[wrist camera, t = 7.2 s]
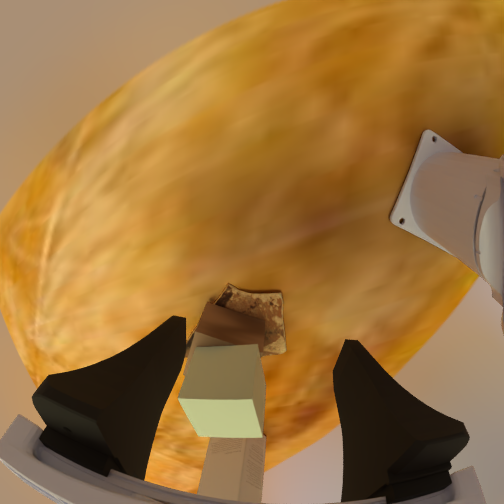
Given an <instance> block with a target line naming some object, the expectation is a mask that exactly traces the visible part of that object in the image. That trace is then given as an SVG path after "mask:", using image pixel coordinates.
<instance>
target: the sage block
mask: <svg viewBox="0 0 504 504" xmlns="http://www.w3.org/2000/svg"><path fill="white" fill-rule="evenodd" d="M265 395H266V383H265V378H264V373H263V368H262V363H261V358H260V353H259V348H258V344H251V345H234V346H212V347H196V348H195V351H194V354H193V357H192V359H191V362H190V365H189V368H188V370H187V373H186V376H185V379H184V382H183V384H182V387H181V390H180V393H179V396H178V400H179V402H180V404H181V406H182V408H183V409H184V411H185V413H186V415H187V417H188V419H189V420H190V422H191V424H192V426H193V427H194V429H195V431H196V433H197V434H198V436H202V437H222V438H263V427H264V411H265Z"/></svg>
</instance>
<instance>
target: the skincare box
mask: <svg viewBox="0 0 504 504" xmlns="http://www.w3.org/2000/svg"><path fill="white" fill-rule="evenodd" d="M265 449H266V437H265V435H264V434H263V438H222V437H210V441H209V445H208V449H207V454H206V458H205V462H204V467H203V471H202V475H201V479H200V483H199V488H198V492H197V495H202V496H208V497H213V498H220V499H226V500H234V501H242V502H252V503H261V499H262V487H263V475H264V463H265Z"/></svg>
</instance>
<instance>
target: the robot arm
mask: <svg viewBox="0 0 504 504" xmlns="http://www.w3.org/2000/svg"><path fill="white" fill-rule="evenodd" d="M432 137H434V138H435V141H434V142H433V141H432ZM401 218H403V222H402V223H399V221H400V219H401ZM390 221H391V223H393V224H394V225H396V226H398V227H400V228H402V229H404V230H406V231H408V232H410V233H412V234H414V235H416V236H418V237H420V238H422V239H424V240H425V241H427V242H429V243H431V244H433V245H435V246H437V247H439V248H440V249H442V250H444V251H446V252H448V253H449V254H451V255H453V256H455V257H457V258H458V259H459V260H461V261H462V262H463V263H464V264H466V265H467V266H468V267H469V268H471V269H472V270H473V271H474V272H476V273H477V274H478V275H479V276H480V277H482V278H483V279H484V280H485V281H486V282H487V283H488V284H489V285H490V286H491V289H492V297H493V298H494V299H495V300H496V301H497V302H498V303H499V304H501V305H502V306H503V313H502V319H501V320H502V330H503V334H504V154H503V155H502V156H501V157H500V159H496V158H490V157H484V156H478V155H471V154H464V153H462V152H461V151H460V150H458V149H457V148H456V147H454V146H453V145H451V144H450V143H449V142H447V141H446V140H444V139H443V138H442V137H440V136H439V135H437V134H436V133H434V132H433V131H431V130H425V131H424V132H423V134H422V137H421V139H420V142H419V145H418V148H417V151H416V154H415V156H414V159H413V162H412V164H411V167H410V170H409V172H408V175H407V177H406V180H405V182H404V185H403V187H402V189H401V192H400V194H399V197H398V199H397V201H396V204H395V206H394V208H393V211H392V213H391V215H390ZM185 354H186V318H184V317H178V316H172V317H170V318H169V319H168V320H166V321H165V322H164V323H163V324H161V325H160V326H159V327H157V328H156V329H155V330H154V331H152V332H151V333H150V334H148V335H147V336H145V337H144V338H143V339H141V340H140V341H138V342H137V343H135V344H134V345H132V346H131V347H129V348H127V349H126V350H124V351H122V352H120V353H118V354H116V355H114V356H112V357H110V358H108V359H106V360H103V361H101V362H98V363H96V364H93V365H90V366H87V367H84V368H81V369H77V370H73V371H69V372H63V373H58V374H52V375H48V376H47V377H46V379H45V380H44V381H43V382H42V384H41V385H40V386H39V388H38V389H37V390H36V392H35V393H34V394H33V396H32V400H33V404H34V406H35V408H36V410H37V411H38V413H39V415H40V416H41V418H42V419H43V421H44V422H45V424H46V425H47V426H46V428H45V429H44V431H43V430H42V429H41V428H40V427H39V426H37V425H36V424H34V423H33V422H31V421H30V420H28V419H27V418H25V417H23V416H22V415H20V414H19V415H18V416H17V417H16V418H15V420H14V421H13V423H12V424H11V425H10V427H9V429H8V430H7V431H6V433H5V434H4V436H3V437H2V438H1V440H0V461H1V462H2V463H3V464H4V465H5V466H6V467H8V468H9V469H10V470H11V471H12V472H13V473H14V474H15V475H16V476H18V477H19V478H20V479H21V480H22V481H24V482H25V483H26V484H28V485H29V486H31V487H32V488H34V489H35V490H37V491H38V492H40V493H41V494H43V495H44V496H46V497H47V498H49V499H51V500H52V501H54V502H55V503H57V504H265V503H252V502H242V501H234V500H226V499H220V498H213V497H208V496H202V495H197V494H192V493H188V492H183V491H179V490H175V489H171V488H167V487H164V486H160V485H157V484H153V483H150V482H147V481H144V479H145V474H146V469H147V464H148V460H149V456H150V452H151V448H152V444H153V440H154V437H155V433H156V430H157V426H158V423H159V420H160V417H161V413H162V411H163V408H164V406H165V404H166V401H167V399H168V397H169V395H170V393H171V391H172V388H173V386H174V384H175V382H176V380H177V377H178V375H179V373H180V371H181V368H182V364H183V361H184V358H185ZM333 384H334V393H335V398H336V403H337V408H338V413H339V418H340V423H341V428H342V436H343V487H342V497H341V502H340V503H328V504H486V502H485V498H484V495H483V492H482V489H481V486H480V483H479V481H478V478H477V475H476V472H475V470H474V467H473V466H470V467H467V468H465V469H462V470H459V471H457V472H454V473H453V474H451V475H450V474H449V471H448V470H450V469H451V467H452V466H451V463H450V461H451V460H452V459H453V458H454V457H455V456H456V455H457V454H458V453H459V452H460V451H461V450H462V449H463V448H464V447H465V446H466V445H467V443H468V441H469V438H470V437H469V434H468V432H467V430H466V428H465V426H464V423H463V422H460V421H458V420H455V419H453V418H451V417H448V416H446V415H444V414H442V413H440V412H438V411H436V410H434V409H433V408H431V407H429V406H427V405H426V404H424V403H423V402H421V401H420V400H418V399H417V398H416V397H414V396H413V395H412V394H410V393H409V392H408V391H407V390H405V389H404V388H403V387H402V386H401V385H399V384H398V383H397V382H396V381H395V380H394V379H393V378H392V377H391V376H390V375H389V374H388V373H387V372H386V371H385V370H384V369H383V368H382V367H381V366H380V364H379V363H378V362H377V361H376V360H375V359H374V358H373V357H372V356H371V354H370V353H369V352H368V351H367V350H366V349H365V348H364V346H363V345H362V344H361V343H360V342H359V341H358V340H347V339H345V342H344V344H343V347H342V350H341V352H340V355H339V357H338V360H337V362H336V365H335V367H334V369H333Z"/></svg>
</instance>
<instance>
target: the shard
mask: <svg viewBox="0 0 504 504" xmlns="http://www.w3.org/2000/svg"><path fill="white" fill-rule="evenodd" d="M213 304H215V305H218V306H221V307H224V308H227V309H230V310H233V311H236V312H239V313H242V314H245V315H248V316H251V317H254V318H258V319H261V320H264V321H265V336H264V350H263V354H262V356H261V357H263V356H266V355H278V354H282V353H284V352H285V351H286V343H285V341H286V339H285V331H284V322H283V298H282V294H281V293H269V294H267V293H262V294H256V293H255V294H252V293H247V292H244V291H241V290H238V289H237V288H235V287H234V286H232V285H230V284H229V283H228V284H227V285H226V287H225V289H224V291H223V292H222V293H221V295H220V296H219V298H218V299H217V300H216V301H215V303H213ZM197 326H198V325H197ZM196 328H197V327H196ZM196 328H195V329H194V330H193V332H192V333H191V335H190V337H189V339H188V340H187V343H186V354H185V357H187V358H188V355H189V352H190V348H191V345H192V341H193V338H194V334H195V331H196Z"/></svg>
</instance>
